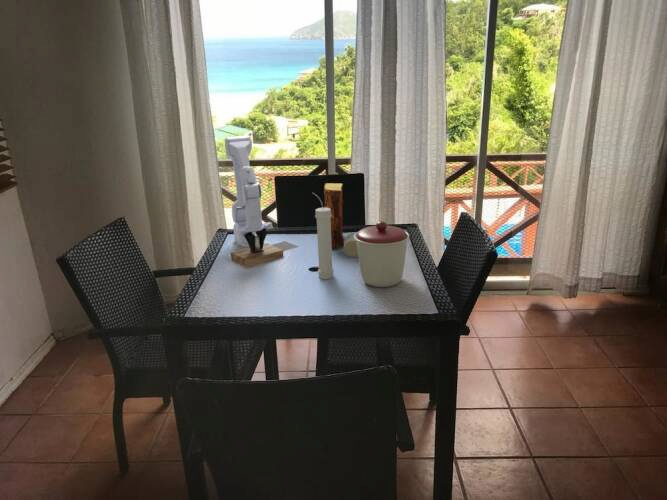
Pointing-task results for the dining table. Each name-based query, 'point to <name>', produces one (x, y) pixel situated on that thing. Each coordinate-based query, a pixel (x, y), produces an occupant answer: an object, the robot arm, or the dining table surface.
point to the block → (256, 255)
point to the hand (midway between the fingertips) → (256, 249)
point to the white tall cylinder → (324, 242)
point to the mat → (285, 245)
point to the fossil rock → (335, 212)
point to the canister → (381, 254)
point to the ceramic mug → (350, 246)
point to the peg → (257, 244)
